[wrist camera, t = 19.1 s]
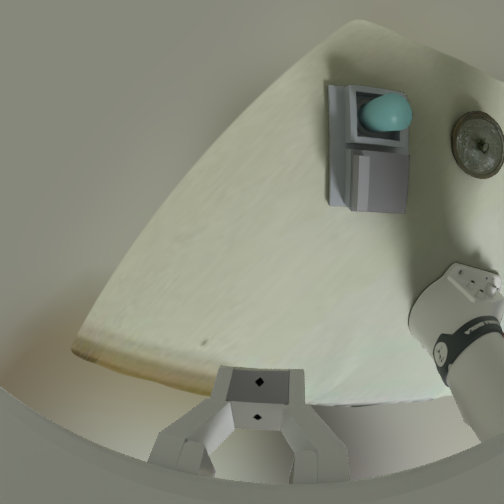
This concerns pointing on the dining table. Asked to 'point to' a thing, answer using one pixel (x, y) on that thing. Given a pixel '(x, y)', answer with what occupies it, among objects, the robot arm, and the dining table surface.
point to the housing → (355, 136)
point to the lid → (478, 144)
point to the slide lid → (379, 182)
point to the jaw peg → (385, 113)
